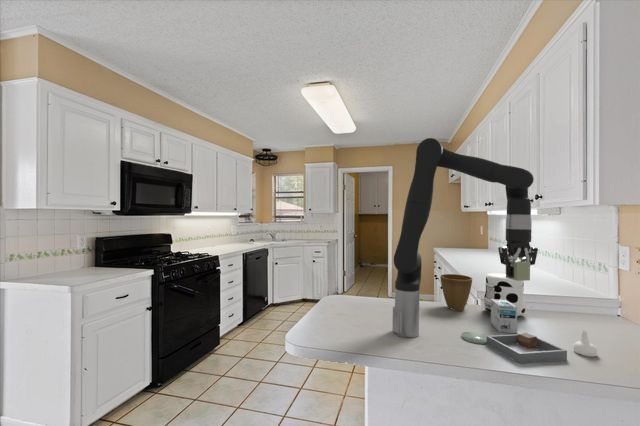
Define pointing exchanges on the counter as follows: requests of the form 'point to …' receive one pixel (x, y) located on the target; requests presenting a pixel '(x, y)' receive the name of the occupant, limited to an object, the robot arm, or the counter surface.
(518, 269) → the olive box
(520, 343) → the walnut block
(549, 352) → the bin
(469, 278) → the plant pot
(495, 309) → the light bulb box
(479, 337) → the saucer
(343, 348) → the counter surface
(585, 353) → the garlic bulb
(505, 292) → the milk container
